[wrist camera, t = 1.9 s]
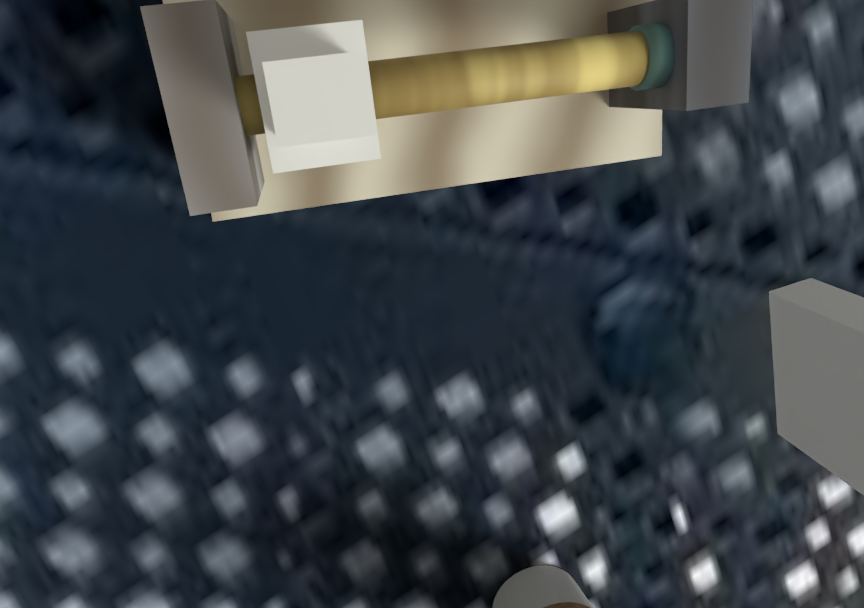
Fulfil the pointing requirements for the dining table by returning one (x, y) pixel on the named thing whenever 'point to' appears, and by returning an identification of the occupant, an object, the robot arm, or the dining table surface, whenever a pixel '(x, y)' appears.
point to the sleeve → (315, 95)
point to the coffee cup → (540, 590)
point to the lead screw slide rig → (446, 90)
